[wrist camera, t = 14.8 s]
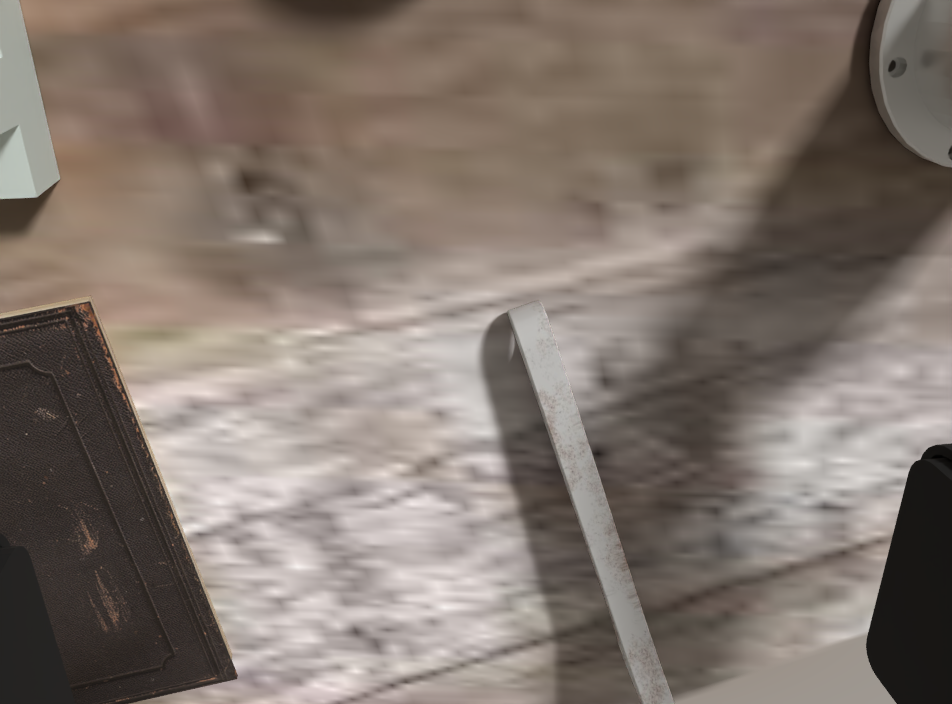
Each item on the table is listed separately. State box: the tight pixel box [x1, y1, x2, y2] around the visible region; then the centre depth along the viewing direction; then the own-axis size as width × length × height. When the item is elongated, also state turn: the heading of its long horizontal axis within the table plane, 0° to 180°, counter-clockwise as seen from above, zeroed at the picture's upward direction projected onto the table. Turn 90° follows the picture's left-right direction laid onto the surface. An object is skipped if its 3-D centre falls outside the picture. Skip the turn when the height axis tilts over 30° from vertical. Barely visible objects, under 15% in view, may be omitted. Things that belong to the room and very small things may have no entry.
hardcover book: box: [0, 296, 238, 704], centre depth 42 cm, size 16×23×2 cm
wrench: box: [507, 300, 675, 704], centre depth 45 cm, size 8×2×30 cm
